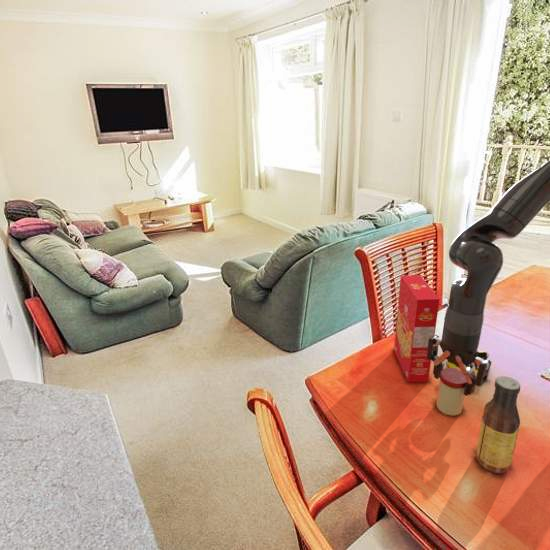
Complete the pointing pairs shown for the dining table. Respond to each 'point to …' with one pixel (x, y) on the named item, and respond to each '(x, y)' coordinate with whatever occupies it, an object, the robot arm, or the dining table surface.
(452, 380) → the lid
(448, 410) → the jar
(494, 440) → the sauce bottle
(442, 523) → the dining table surface
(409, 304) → the food packaging
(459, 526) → the dining table surface
